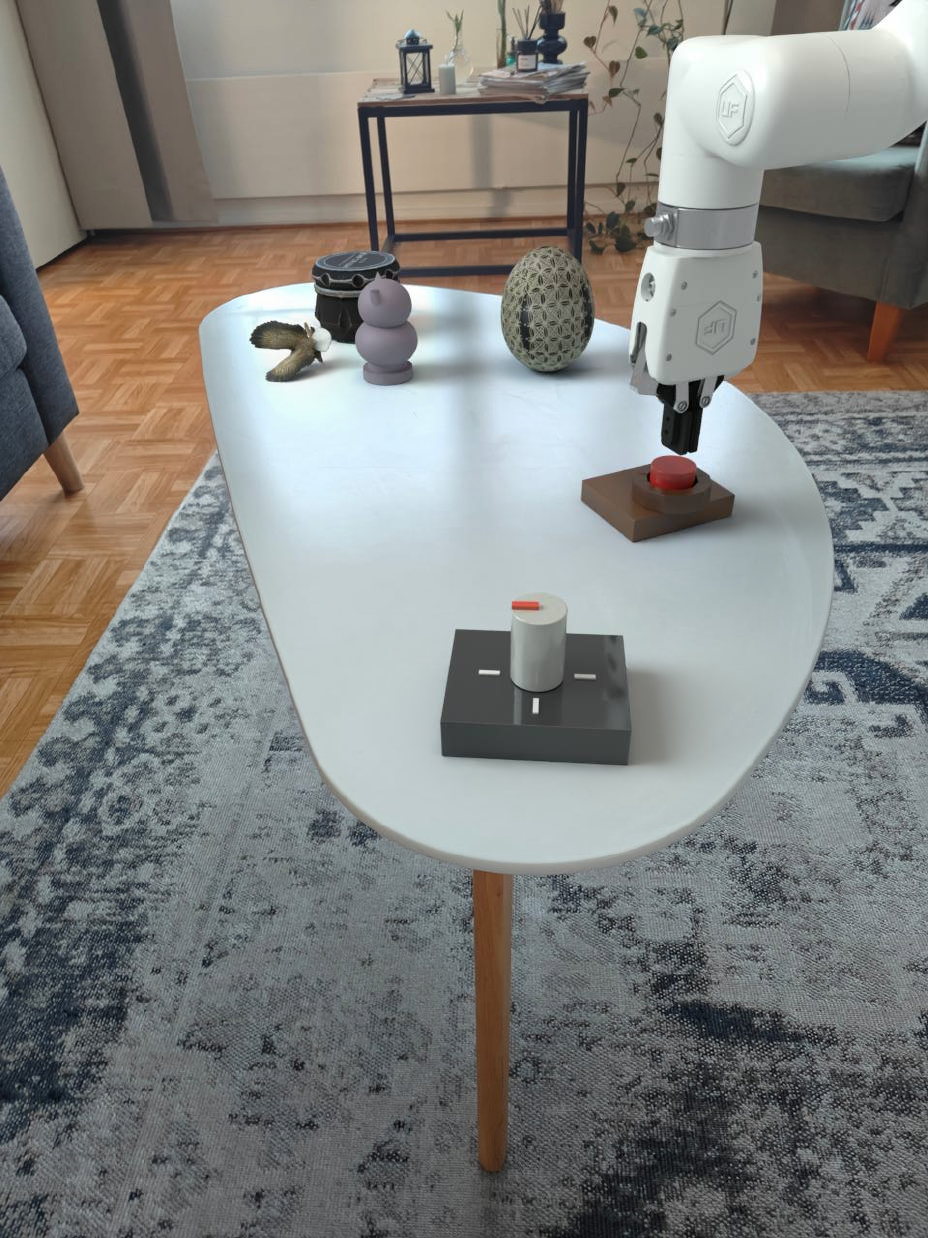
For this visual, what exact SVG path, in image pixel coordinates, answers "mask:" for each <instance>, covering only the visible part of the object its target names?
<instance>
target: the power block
mask: <svg viewBox="0 0 928 1238" xmlns="http://www.w3.org/2000/svg"><path fill="white" fill-rule="evenodd" d="M650 470H651V463H647V464H643V465H640V466H634V467H631V468H627V469H626V468H625V469H622V470H618V471H613V472H610V473H605V474H602V475H597V476H593V477H589V478H585V479H584V478H583V479H582V480H581V490H580V501H581V502H583V503H584V504H585V505H586V506H587V507H588V508H589V509H591V510H592V511H594V512H595V513H596V514H597V515H598V516H599V517H601V518H602V519H604V521H606V522H607V523H608V524H610V525H611V526H612V527H613V528H614V529H615V530H617V531H618V532H619V533H621V534H622V535H623V536H624V537H625V538H626V539H628V540H629V541H630V542H632V543H635V542H638V541H642V540H647V539H650V538H654V537H657V536H660V535H661V536H662V535H665V534H668V533H672V532H676V531H679V530H683V529H687V528H690V527H691V528H692V527H694V526H697V525H701V524H705V523H709V522H712V521H716V520H719V519H725V518H727V517H730V516H732V515H733V511H734V504H735V499H736V494H735V493H733V492H732V491H730V490H728V489H727V488H726V487H724V486H723V485H721V484H719V483H718V482H716V481H715V480H713V479H711V475H710V474H709V473H707V472H705V470H703V469H701V468H699V467H698V466H697V468H696V475H695V482H694V486H693V487H692V488H688V489H684V490H667V489H663V488H659V487H655V486H654V485H652V484H651V483H650V480H649V479H650Z"/></svg>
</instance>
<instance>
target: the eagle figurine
mask: <svg viewBox="0 0 928 1238" xmlns="http://www.w3.org/2000/svg"><path fill="white" fill-rule="evenodd" d="M248 341H249V342H250V344H251V345H253V346H254V348H255V349H262V350H273V351H274V350H275V351H279V350H289V351H290V353H289V354H288V356H287V357H285V358H284V359H283V360H281V361H280V362H279V363H278V364H277V365H276V366H275V367H274V368H273V367H272V369H270V370H268V371H267V372H265V375H264V377H265V380H266V381H268V382H271V381H272V382H277V381H278V382H281V381H286V380H287V381H288V380H289V379H291V378H293V377H294V376H297V373H299V372H300V371H301V370H303V369H304V368H306V367H309V366H312V364H313V363H314V362H315V361H316V360H317V362H318V363H321V364H323V363H324V360H323V357H322V353H327V351H328V350H329V348H330V346H331V344H332V338H331V335H330V332H328V331H327V330H326V329H324V328H321V326H320V327H317V328H315V327H314V326H309V324H308V323H307V321H304V323H303V326H302V325H300V323H296V324H290V323H288V322H282V321H278V320H269V321H266V322H263V323H260V324H259V325H257V326H255V328H254V329H253V330H252V332H251V333H250V337H249V339H248Z"/></svg>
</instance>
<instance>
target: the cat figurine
mask: <svg viewBox="0 0 928 1238" xmlns="http://www.w3.org/2000/svg"><path fill="white" fill-rule="evenodd" d="M412 307H413V304H412V299H411V295H410V293H409V290H408V289H407V288H406V287H405V286H404V285H403V284H401V282H400V283H398V282H397V281H394V280H391V279H382V278H381V277H380V275H379V273H378V271H377V274H376V277H375V280H374V281H372V282H371V283H369V284H368V285H366V286H365V288H364V289H363V290H362V291H361V293H360V295H359V299H358V309H359V313H360V316H361V318H362V319H363V321H364V322H363V323H362V324H361V326H360V327H359V328H358V330H357V332H356V336H355V343H354V344H355V349H356V352H357V353H358V354H359V356H360V357H361V358H362V359H363V360H364V361H366V362H365V363H364V364H363V365H362V374H363V380H364V381H365V382H367V383H369V384H371V385H376V386H396V385H401V384H404V383H406V382H408V381H410V380H411V379H412V378H413V377H414V367H413V366H414V365H413V363H412V361H410V360H409V359H411V358H412V357H413V356H414V353H415V352H416V350H417V348H418V344H419V338H418V333H417V331H416V328H415V327H414V325H413V324H412V323H411V322H410V321H409V320H408V319H409V317H410V316H411V314H412Z"/></svg>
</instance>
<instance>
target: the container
mask: <svg viewBox="0 0 928 1238" xmlns="http://www.w3.org/2000/svg"><path fill="white" fill-rule="evenodd" d="M377 271H378V273H379V275H380V277H381V278H382V279H391V280H394V281H397V282H398V283H400V284H401V280H400V279H401V278H400V277H399V276H400V273H401V271H402V267H401V265H400V262H399V261H398V260H397V258H396V256H395V255H393V254H391V253H387V252H383V251H382V252H381V251H377V250H376V251H375V250H361V251H359V250H354V251H343V252H341V251H340V252H335V253H331V254H327V255H325V256H321V257H319V258H317V259H316V260H315V261H314V264H313V266H312V267H311V273H310V276H311V278H312V279H313V280H314V283H313V289H314V292H315V293H316V298H315V307H314V308H315V309H314V317H315V319H316V320H317V321H318V322H319V326H320V328H324V329H326V330H327V331H328V332H330V335H331V340H333V341H335V342H337V343H346V344H355V336H356V332H357V330H358V328H359V327H360V326H361V324H362V323H363V322H364V321H363V319H362V318H361V316H360V313H359V309H358V299H359V295H360V293H361V291H362V290H363V289H364V288H365V286H366V285H368V284H369V283H371V282H372V281H374V280H375V277H376V274H377Z"/></svg>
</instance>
